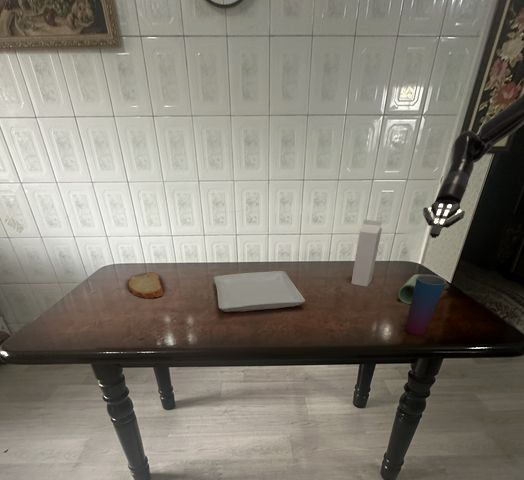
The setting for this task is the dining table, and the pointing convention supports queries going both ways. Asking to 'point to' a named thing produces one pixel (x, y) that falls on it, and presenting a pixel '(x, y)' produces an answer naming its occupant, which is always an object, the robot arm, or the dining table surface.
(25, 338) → the dining table surface
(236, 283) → the square plate
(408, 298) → the green cup
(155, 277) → the bread slice
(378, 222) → the milk
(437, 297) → the cup
